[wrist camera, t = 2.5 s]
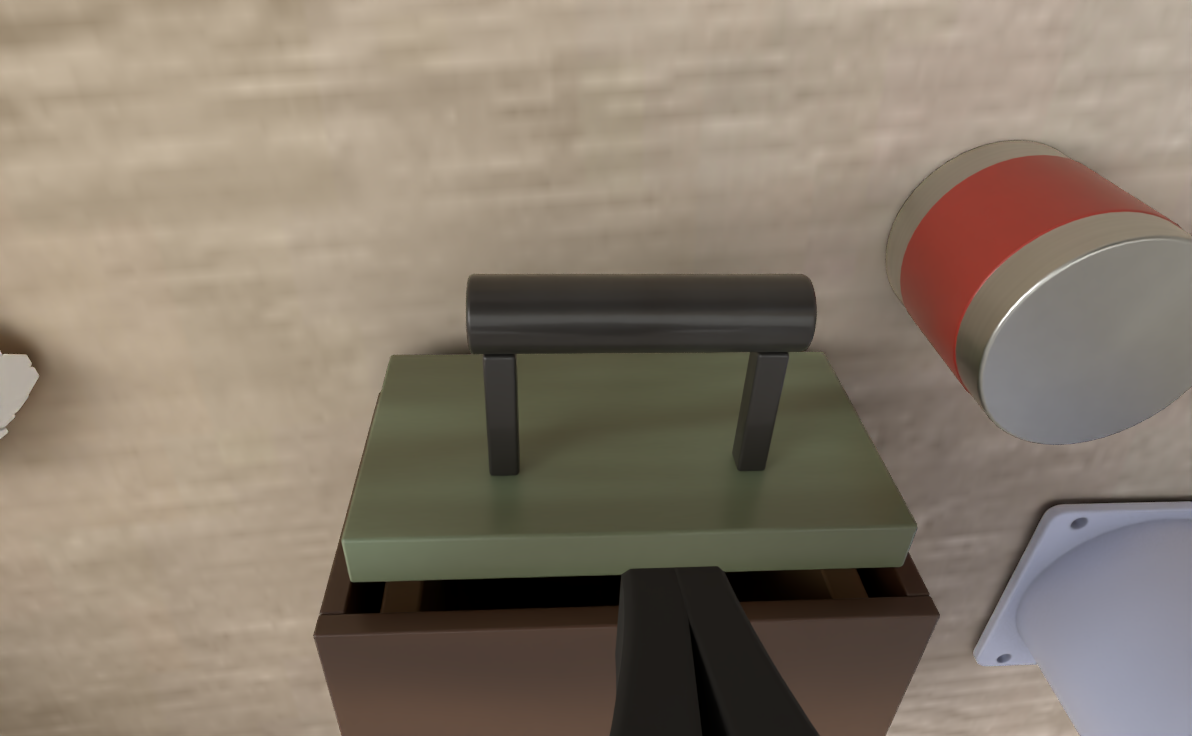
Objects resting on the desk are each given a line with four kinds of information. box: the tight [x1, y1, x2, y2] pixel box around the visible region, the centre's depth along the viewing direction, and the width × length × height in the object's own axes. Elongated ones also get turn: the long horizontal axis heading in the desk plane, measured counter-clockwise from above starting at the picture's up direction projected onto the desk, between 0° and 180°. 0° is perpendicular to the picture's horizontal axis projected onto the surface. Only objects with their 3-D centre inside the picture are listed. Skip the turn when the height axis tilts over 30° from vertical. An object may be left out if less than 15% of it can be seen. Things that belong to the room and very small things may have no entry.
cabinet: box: [313, 393, 940, 736], centre depth 22 cm, size 13×12×8 cm
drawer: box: [341, 274, 917, 613], centre depth 19 cm, size 16×11×6 cm, turn 178°
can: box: [886, 140, 1192, 445], centre depth 17 cm, size 5×5×5 cm
